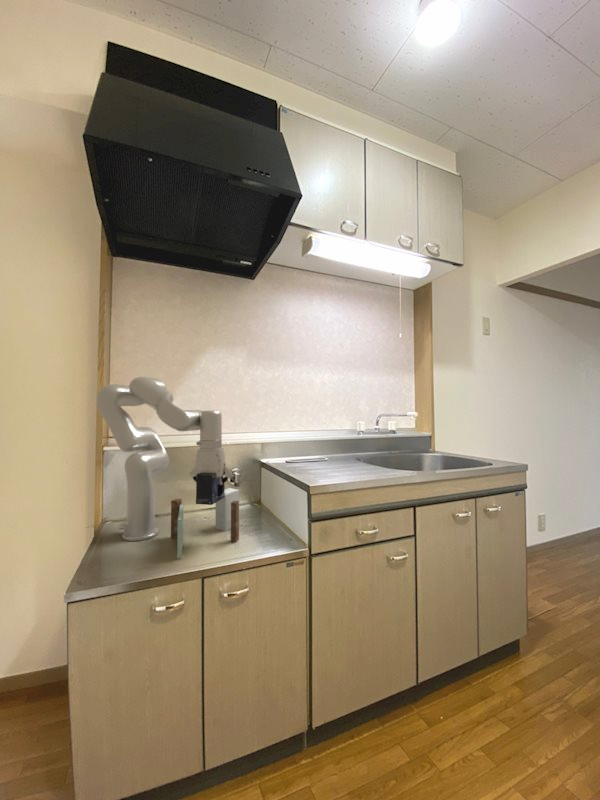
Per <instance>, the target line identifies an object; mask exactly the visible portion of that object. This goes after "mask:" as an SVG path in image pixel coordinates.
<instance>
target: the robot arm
mask: <svg viewBox="0 0 600 800" xmlns="http://www.w3.org/2000/svg"><path fill="white" fill-rule="evenodd" d="M173 401H174V395H173V393H172V392H171V391H169V390H167V385H166V383H165V382H164V381H163V380H161V379H159V378H157V377H156V378H155V377H148V376H139V377H135V378H133V379H132V380H131V381H130V383H129V385H125V384H108V385H105V386H103V387H101V388H100V389H99V391H98V394H97V396H96V406H97V409H98V412H99V413H100V416H101V417H102V418H103V419H104V421H105V423H106V424H107V427H108V428H109V430H110V432H111V434H112V436H113V439H114V440H115V442H116V444H117V445H118V448H119V449H120V450H121V451H122V452H124V453H132V454H130V455H128V457H127V458H126V460H125V462H124V470H125V475H126V482H127V483H126V484H127V486H126V487H127V491H126V492H127V507H126V511H127V513H126V514H127V515H126V521H127V522H123V521H122V522H119V526H118V530H123V531H124V532H123V533H122V535H121V537H122V539H123V541H129V542H131V541H132V542H137V541H142V540H148V539H151V538H154V537H155V536H157V535H158V534H159V533H160V532H159V531H160V529H159V527H157V526H155V525H156V523H155V522H156V521H155V519H156V514H155V513H156V512H155V511H156V506H155V505H156V503H155V502H156V485H155V482H154V480H153V478H152V475H154V474H157V473H163V472H164V471H165V470H166V469H168V467H169V465H170V458H169V454H168V452H167V450H166V448H165V446H164V444H163V442H162V440H161V438H160V437H159V435H158V433H157V432H156V430H154V429H152V428H151V427H147V426H137V425H136V424H135V422H134V420H133V419H132V416H131V415H130V414H129V413H128V412H127V411H126V410H125V409H124V408H122V407H140V406H141V405H142V406H143V405H147V406H148V407H150V408H152V409H153V410H154V411H155V412H156V415H157V417H158V418H159V420H160V421H161V422H163V423H164V424H165V425H166V426H168V427H170V428H171V429H174V430H175V431H177V432H182V433H183V432H189V431H193V432H194V431H199V441H196V446H199V448H198V449H197V450H196V456H195V464H194V468H193V469H192V470H191V471H190V472H189V473H188V474H189V476H191V478H192V479H193V480H194V482H195V483H196V474H198V473H215V474H216V478H218V482H219V485H218V496H221V495H223V493H224V483H225V484H226V482H227V481H228V480H229V479H230V478H231V477H232V475H233V472H232V471H231V470H230V469H229V468H228V467H227V463H226V455H225V450H224V448H223V447H222V446H223V445H222V442H223V441H222V437H223V435H222V434H223V433H222V431H223V430H222V429H223V426H222V425H223V424H222V423H223V421H222V419H223V418H222V416H223V415H222V413H221V411H219V410H201V409H200V410H198V409H182V408H180V407H179V406H176V405H175V404H174V403H173ZM223 475H225V478H224V477H223Z"/></svg>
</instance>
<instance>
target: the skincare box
mask: <svg viewBox="0 0 600 800" xmlns="http://www.w3.org/2000/svg"><path fill="white" fill-rule="evenodd" d="M233 501H239V502H240V489H236V488H232V487H228V488H225V497H224V498H223V499H221V500H219V501H217V502H216V503H215V528H216V529H217V530H221V531H224V532H226V531H229V530H231V503H232V502H233Z"/></svg>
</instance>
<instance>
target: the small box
mask: <svg viewBox="0 0 600 800" xmlns="http://www.w3.org/2000/svg"><path fill="white" fill-rule="evenodd" d="M223 477H224V478H225V477H226V474H225V475H223ZM225 484H226V482H225V483H224V493H223V495H221V496H218V485H219V482H218V478H216V474H215V473H198V474H196V482H195V486H196V487H195V488H196V489H195V490H196V491H195V505H208V506H213V505H214V504H216V502H217V501H219V500H221V499H223V498H224V497H225V489H226V488H225V487H226V486H225Z"/></svg>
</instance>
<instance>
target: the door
mask: <svg viewBox="0 0 600 800" xmlns="http://www.w3.org/2000/svg"><path fill="white" fill-rule="evenodd" d="M184 505H185V504H184V503H181V504H180V509H179V515H178V527H174V533H177V532H178V539H177V559H181V558H182V554H183V545H184V533H185V532H184V528H185V527H184V526H185V525H184V519H185V517H184V516H185V515H184V514H185V513H184V512H185V510H184V507H185V506H184Z"/></svg>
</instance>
